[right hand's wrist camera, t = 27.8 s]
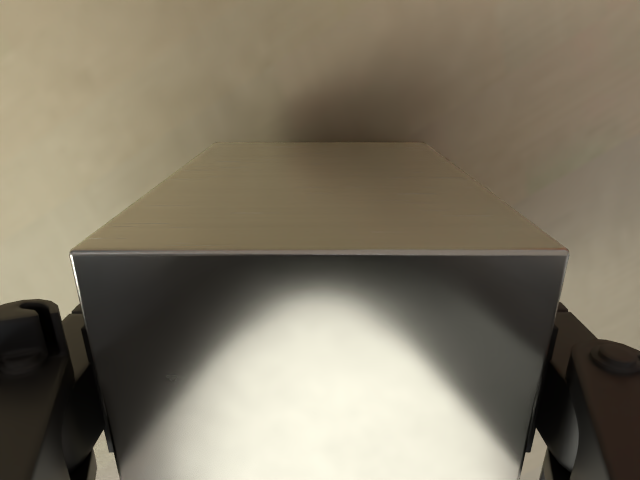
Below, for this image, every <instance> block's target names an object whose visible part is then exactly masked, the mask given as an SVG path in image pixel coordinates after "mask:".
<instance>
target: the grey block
mask: <svg viewBox="0 0 640 480" xmlns="http://www.w3.org/2000/svg"><path fill="white" fill-rule="evenodd" d="M69 256H70V261H71V265H72V270H73V274H74V278H75V283H76V287H77V292H78V296H79V301H80V305H81V309H82V314H83V318H84V323H85V327H86V331H87V336H88V340H89V345H90V349H91V354H92V358H93V362H94V367H95V371H96V376H97V380H98V385H99V389H100V393H101V398H102V402H103V407H104V411H105V415H106V420H107V424H108V429H109V433H110V438H111V442H112V446H113V451H114V455H115V460H116V464H117V469H118V473H119V477H120V480H519V479H520V475H521V470H522V466H523V461H524V457H525V452H526V448H527V443H528V439H529V434H530V430H531V425H532V421H533V416H534V412H535V407H536V403H537V398H538V394H539V389H540V385H541V380H542V376H543V371H544V367H545V362H546V358H547V353H548V349H549V344H550V340H551V335H552V331H553V327H554V322H555V318H556V313H557V309H558V304H559V300H560V295H561V291H562V286H563V282H564V277H565V273H566V268H567V264H568V259H569V250H568V249H567V248H566V247H564V246H563V245H562V244H560V243H559V242H558V241H556V240H555V239H554V238H552V237H551V236H550V235H548V234H547V233H545V232H544V231H543V230H541V229H540V228H539V227H537V226H536V225H535V224H533V223H532V222H531V221H529V220H528V219H527V218H525V217H524V216H523V215H521V214H520V213H519V212H517V211H516V210H515V209H513V208H512V207H511V206H509V205H508V204H506V203H505V202H504V201H502V200H501V199H500V198H498V197H497V196H496V195H494V194H493V193H492V192H490V191H489V190H488V189H486V188H485V187H484V186H482V185H481V184H480V183H478V182H477V181H476V180H474V179H473V178H472V177H470V176H469V175H467V174H466V173H465V172H463V171H462V170H461V169H459V168H458V167H457V166H455V165H454V164H453V163H451V162H450V161H449V160H447V159H446V158H445V157H443V156H442V155H441V154H439V153H438V152H437V151H435V150H434V149H433V148H431V147H430V146H428V145H427V144H426V143H424V142H216V143H214V144H212V145H211V146H210V147H208V148H207V149H206V150H204V151H203V152H202V153H200V154H199V155H198V156H196V157H195V158H194V159H192V160H191V161H190V162H188V163H187V164H186V165H184V166H183V167H182V168H180V169H179V170H177V171H176V172H175V173H173V174H172V175H171V176H169V177H168V178H167V179H165V180H164V181H163V182H161V183H160V184H159V185H157V186H156V187H155V188H153V189H152V190H151V191H149V192H148V193H147V194H145V195H144V196H142V197H141V198H140V199H138V200H137V201H136V202H134V203H133V204H132V205H130V206H129V207H128V208H126V209H125V210H124V211H122V212H121V213H120V214H118V215H117V216H116V217H114V218H113V219H112V220H110V221H109V222H107V223H106V224H105V225H103V226H102V227H101V228H99V229H98V230H97V231H95V232H94V233H93V234H91V235H90V236H89V237H87V238H86V239H85V240H83V241H82V242H81V243H79V244H78V245H77V246H75V247H74V248H72V249H71V250H70V254H69Z"/></svg>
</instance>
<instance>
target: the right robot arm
mask: <svg viewBox="0 0 640 480" xmlns="http://www.w3.org/2000/svg"><path fill="white" fill-rule="evenodd" d="M536 428H537V430H538V431H539V433H540V435H541V436H542V438H543V440H544V441H545V443H546V445H547V450H546V454H545V458H544V462H543V466H542V471H541V475H540V479H539V480H640V351H638V350H636V349H634V348H631V347H629V346H626V345H624V344H621V343H617V342H613V341H609V340H602V339H597V338H596V337H595V336H594V335H593V334H592V333H591V332H590V331H589V330H588V329H587V328H586V327H585V326H584V325H583V324H582V323H581V322H580V321H579V320H578V319H577V318H576V317H575V316H574V315H573V314H572V313H571V312H568V309H567V308H566V307H565V306H564V305H563V304H562V303H561V302H559V304H558V309H557V313H556V318H555V322H554V327H553V331H552V335H551V340H550V344H549V349H548V353H547V358H546V362H545V367H544V371H543V376H542V380H541V385H540V389H539V394H538V398H537V403H536V407H535V412H534V416H533V421H532V425H531V430H530V434H529V439H528V443H527V448H526V452H531V447H532V443H533V438H534V434H535V430H536ZM103 430H104V432H105V436H106V441H107V445H108V450H109V452H114V451H113V446H112V442H111V438H110V433H109V429H108V424H107V420H106V415H105V411H104V407H103V402H102V398H101V393H100V389H99V385H98V380H97V376H96V371H95V367H94V362H93V358H92V354H91V349H90V345H89V340H88V336H87V331H86V327H85V323H84V318H83V314H82V309H81V305H80V304H79V305H78V306H77V307H76V308H75V309H74V310H73V311H72V314H69V315H68V316H67V317H66V318H65V319H64V320H63V321H62V320H61V316H60V312H59V308H58V305H56V304H55V303H53V302H52V301H48V300H42V299H32V300H21V301H16V302H11V303H7V304H3V305H0V480H95V477H96V471H97V466H96V458H95V454H94V450H93V446H94V445H95V443H96V441H97V440H98V438H99V436H100V435H101V433H102V431H103Z"/></svg>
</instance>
